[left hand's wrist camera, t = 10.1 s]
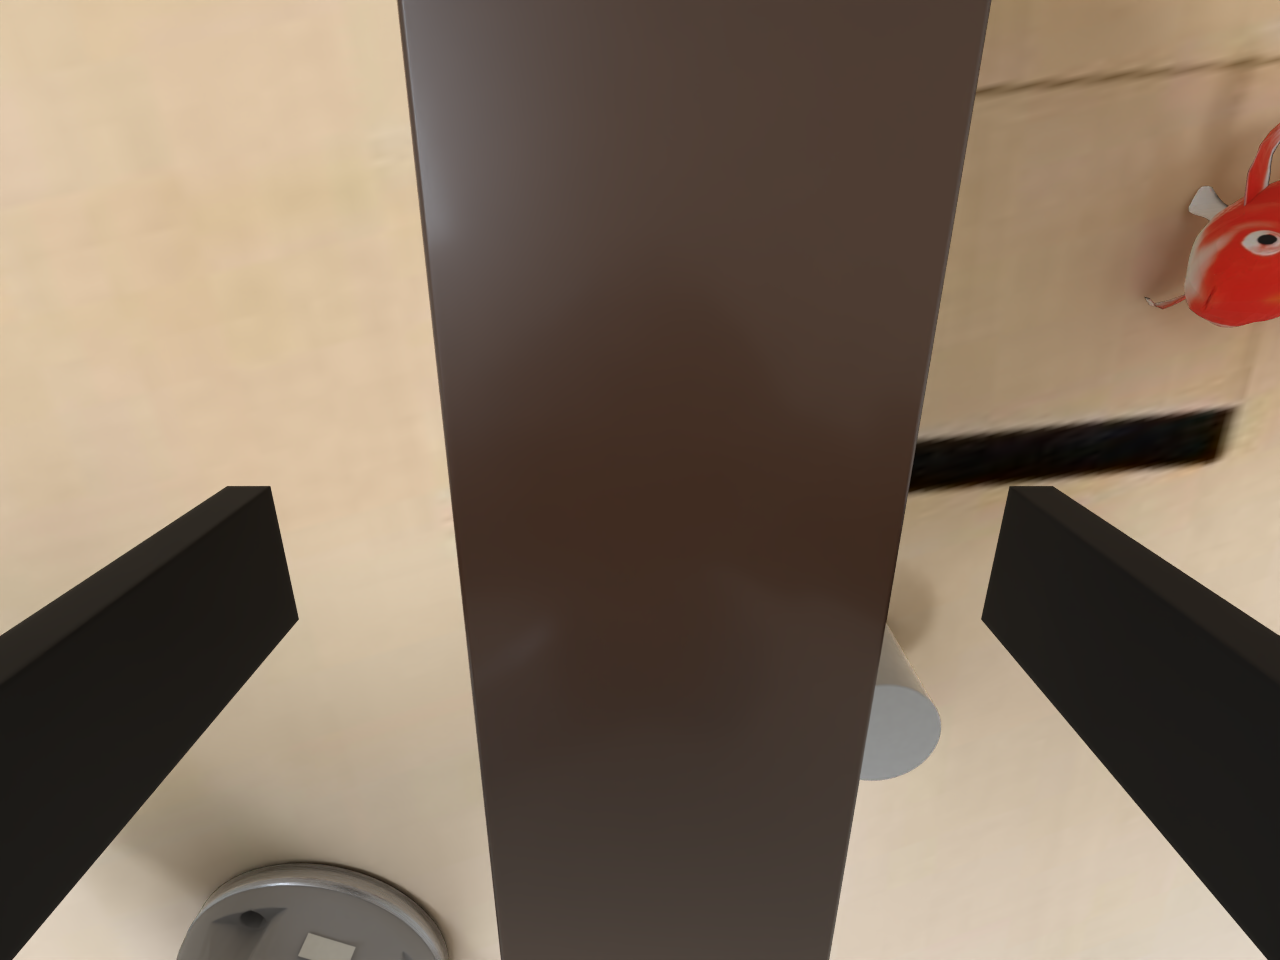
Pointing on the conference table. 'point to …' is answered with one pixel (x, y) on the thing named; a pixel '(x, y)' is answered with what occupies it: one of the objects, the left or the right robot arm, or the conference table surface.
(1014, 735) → the conference table surface
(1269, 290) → the fish
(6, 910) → the left robot arm
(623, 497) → the bar
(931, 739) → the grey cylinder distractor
